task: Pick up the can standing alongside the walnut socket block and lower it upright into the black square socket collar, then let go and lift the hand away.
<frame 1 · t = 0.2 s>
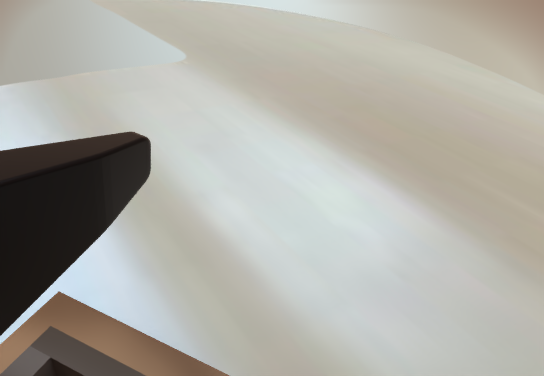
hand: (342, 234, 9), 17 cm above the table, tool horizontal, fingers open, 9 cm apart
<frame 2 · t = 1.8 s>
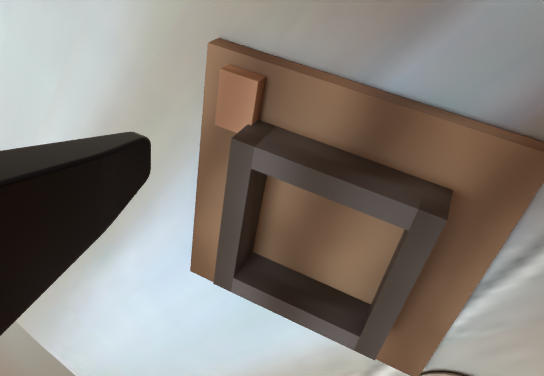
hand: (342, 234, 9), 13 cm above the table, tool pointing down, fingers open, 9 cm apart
socket block: (329, 219, 25), on the table
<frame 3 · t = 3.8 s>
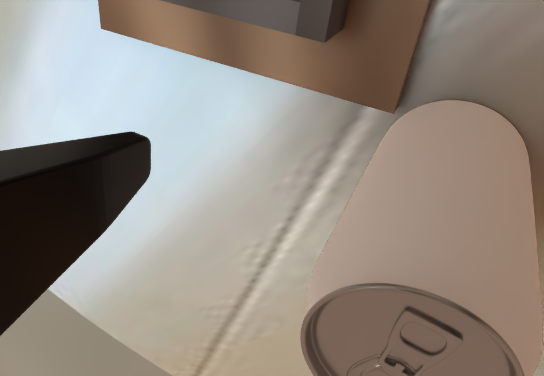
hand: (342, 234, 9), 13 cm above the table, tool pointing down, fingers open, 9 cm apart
can: (449, 161, 21), on the table
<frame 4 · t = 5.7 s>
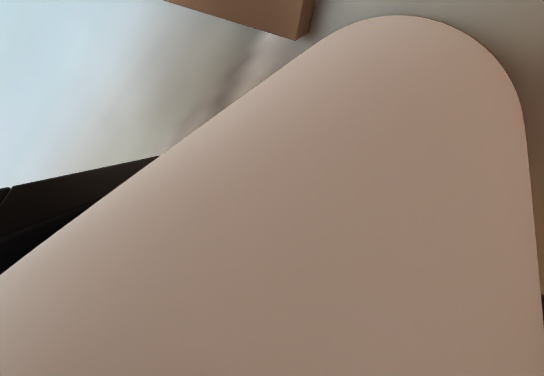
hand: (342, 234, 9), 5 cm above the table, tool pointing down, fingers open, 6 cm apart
can: (393, 129, 13), on the table, touching gripper
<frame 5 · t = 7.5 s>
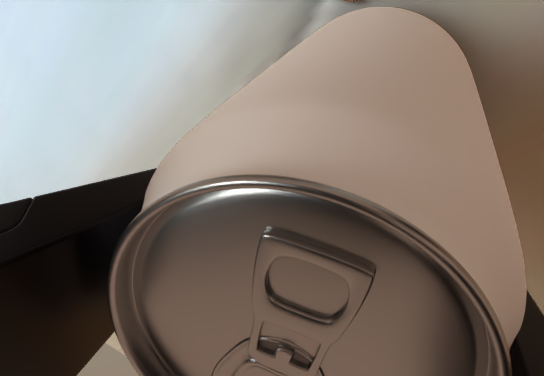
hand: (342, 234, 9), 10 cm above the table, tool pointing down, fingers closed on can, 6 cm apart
can: (376, 98, 16), point 1 cm above the table, touching gripper
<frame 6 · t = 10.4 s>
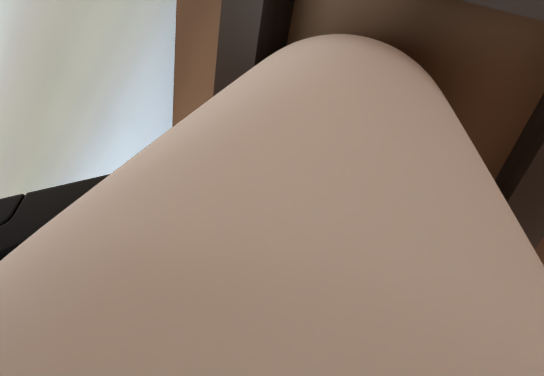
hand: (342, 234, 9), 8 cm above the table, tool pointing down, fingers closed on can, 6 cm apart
socket block: (396, 94, 15), on the table
can: (336, 143, 13), point 3 cm above the table, touching gripper, socket block
when the fingers open (8 cm above the table, at t = 11.1 s): can drops 2 cm, resting on socket block.
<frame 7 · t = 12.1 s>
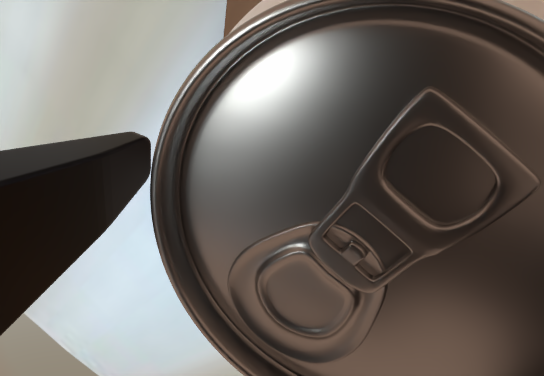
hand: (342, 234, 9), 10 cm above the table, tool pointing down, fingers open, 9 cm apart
socket block: (426, 74, 17), on the table
can: (424, 79, 15), point 1 cm above the table, touching socket block
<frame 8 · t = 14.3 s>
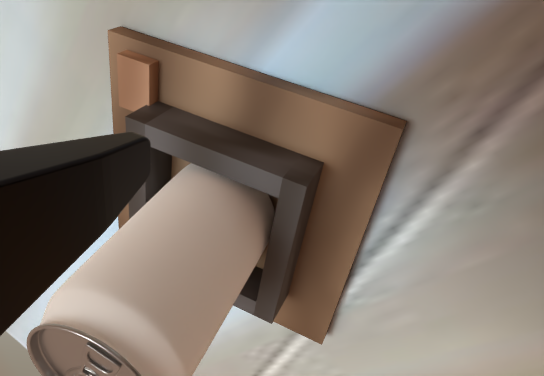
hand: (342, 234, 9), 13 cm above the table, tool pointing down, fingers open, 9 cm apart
socket block: (233, 195, 27), on the table
can: (227, 202, 26), point 1 cm above the table, touching socket block
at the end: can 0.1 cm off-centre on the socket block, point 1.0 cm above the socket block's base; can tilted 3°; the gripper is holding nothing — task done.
